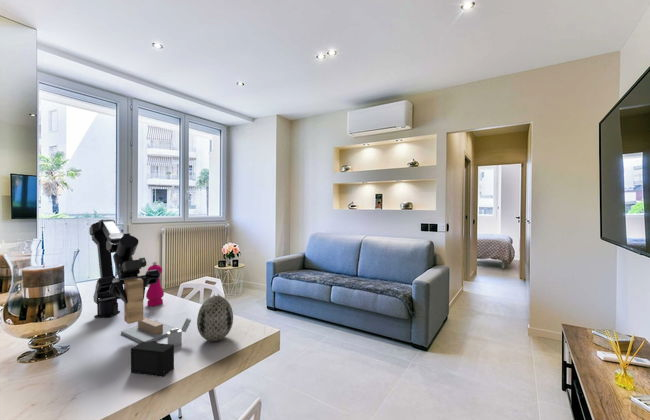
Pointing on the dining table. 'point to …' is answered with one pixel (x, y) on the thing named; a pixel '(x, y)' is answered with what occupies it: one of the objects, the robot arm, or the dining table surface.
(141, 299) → the oak block
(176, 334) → the lighter
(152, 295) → the pepper mill
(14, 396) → the dining table surface
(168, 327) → the ridge stand
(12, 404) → the dining table surface
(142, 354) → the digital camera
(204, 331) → the decorative egg
